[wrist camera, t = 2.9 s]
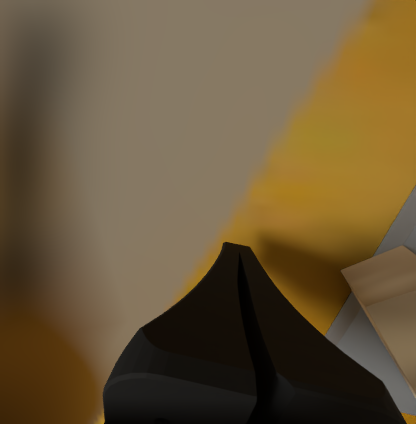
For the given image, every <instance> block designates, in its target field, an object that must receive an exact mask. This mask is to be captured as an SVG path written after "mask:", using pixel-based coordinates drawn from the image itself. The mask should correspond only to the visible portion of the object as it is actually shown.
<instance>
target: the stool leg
mask: <svg viewBox="0 0 416 424" xmlns="http://www.w3.org/2000/svg"><path fill="white" fill-rule="evenodd" d="M340 271H341V272H342V274H343V276H344V278H345V279H346V281H347V283H348V284H349V286H350V288H351V289H352V291H353V293H354V295H355V296H356V298H357V300H358V301H359V303H360V305H361V307H362V308H363V310H364V312H365V313H366V315H367V317H368V318H369V320H370V322H371V324H372V325H373V327H374V329H375V330H376V332H377V334H378V335H379V337H380V339H381V341H382V342H383V344H384V346H385V347H386V349H387V351H388V352H389V354H390V356H391V358H392V359H393V361H394V363H395V364H396V366H397V368H398V369H399V371H400V373H401V375H402V376H403V378H404V380H405V381H406V383H407V385H408V386H409V388H410V390H411V392H412V393H413V395H414V397H415V398H416V255H415V254H414V253H413V252H411V251H410V250H409V249H407V248H406V247H405V246H403V245H402V246H399V247H397V248H394V249H392V250H389V251H387V252H384V253H382V254H379V255H377V256H374V257H372V258H369V259H367V260H364V261H362V262H359V263H357V264H354V265H352V266H349V267H347V268H344V269H342V270H340Z"/></svg>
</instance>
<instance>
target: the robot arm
mask: <svg viewBox="0 0 416 424" xmlns="http://www.w3.org/2000/svg"><path fill="white" fill-rule="evenodd" d="M103 404H104V417H105V423H104V424H407V423H406V421H405V420H404V418H403V416H402V414H401V413H400V411H399V409H398V407H397V405H396V404H395V402H394V400H393V398H392V397H391V395H390V393H389V391H388V389H387V388H386V386H385V385H384V383H383V381H382V380H380V379H379V378H377V377H376V376H375V375H373V374H372V373H371V372H369V371H368V370H367V369H365V368H364V367H363V366H361V365H360V364H359V363H357V362H356V361H355V360H353V359H352V358H351V357H349V356H348V355H347V354H345V353H344V352H343V351H342V350H340V349H339V348H338V347H337V346H336V345H334V344H333V343H332V342H331V341H329V340H328V339H327V338H326V337H325V336H324V335H322V334H321V333H320V332H319V331H318V330H317V329H316V328H315V327H314V326H313V325H311V324H310V323H309V322H308V321H307V320H306V319H305V318H304V317H303V316H302V315H301V314H300V313H299V312H298V311H297V310H296V309H295V308H294V307H293V306H292V304H291V303H290V302H289V301H288V300H287V299H286V298H285V297H284V296H283V294H282V293H281V292H280V291H279V290H278V288H277V287H276V286H275V284H274V283H273V282H272V280H271V279H270V278H269V276H268V275H267V273H266V272H265V270H264V269H263V267H262V266H261V264H260V263H259V261H258V259H257V258H256V256H255V254H254V253H253V251H252V250H251V248H250V247H248V246H243V245H238V244H233V243H229V242H225V243H223V246H222V250H221V252H220V254H219V256H218V258H217V260H216V261H215V263H214V264H213V266H212V267H211V269H210V270H209V271H208V273H207V274H206V275H205V276H204V278H203V279H202V280H201V281H200V282H199V283H198V284H197V285H196V286H195V287H194V288H193V289H192V290H191V291H190V292H189V293H188V294H187V295H186V296H185V297H184V298H182V299H181V300H180V301H179V302H178V303H176V304H175V305H174V306H172V307H171V308H170V309H168V310H167V311H166V312H164V313H163V314H162V315H160V316H158V317H157V318H155V319H154V320H152V321H151V322H149V323H147V324H146V325H144V326H143V327H141V328H140V329H139V330H138V331H137V333H136V334H135V335H134V337H133V338H132V339H131V341H130V342H129V343H128V345H127V346H126V348H125V349H124V351H123V352H122V354H121V356H120V357H119V359H118V361H117V362H116V364H115V366H114V368H113V370H112V372H111V375H110V376H109V378H108V380H107V383H106V385H105V387H104V391H103Z"/></svg>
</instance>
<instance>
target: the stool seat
mask: <svg viewBox="0 0 416 424" xmlns="http://www.w3.org/2000/svg"><path fill="white" fill-rule="evenodd" d="M402 245H403V246H405V247H406V248H407V249H409V250H410V251H411V252H413V253H414V254H415V255H416V186H415V188H414V189H413V191H412V193H411V194H410V196H409V198H408V199H407V201H406V202H405V204H404V206H403V207H402V209H401V211H400V212H399V214H398V216H397V217H396V219H395V221H394V222H393V224H392V226H391V227H390V229H389V231H388V232H387V234H386V236H385V237H384V239H383V241H382V242H381V244H380V246H379V247H378V249H377V251H376V252H375V254H374V255H373V257H374V256H377V255H379V254H382V253H384V252H387V251H389V250H392V249H394V248H397V247H399V246H402ZM325 337H326V338H327V339H328V340H329V341H331V342H332V343H333V344H334V345H336V346H337V347H338V348H339V349H340V350H342V351H343V352H344V353H345V354H347V355H348V356H349V357H351V358H352V359H353V360H355V361H356V362H357V363H359V364H360V365H361V366H363V367H364V368H365V369H367V370H368V371H369V372H371V373H372V374H373V375H375V376H376V377H377V378H379V379H380V380H382V381H383V383H384V385H385V386H386V388H387V389H388V391H389V393H390V395H391V397H392V398H393V400H394V402H395V404H396V405H397V407H398V409H399V411H400V412H402V413H407V414H411V415H415V416H416V398H415V397H414V395H413V393H412V392H411V390H410V388H409V386H408V385H407V383H406V381H405V380H404V378H403V376H402V375H401V373H400V371H399V369H398V368H397V366H396V364H395V363H394V361H393V359H392V358H391V356H390V354H389V352H388V351H387V349H386V347H385V346H384V344H383V342H382V341H381V339H380V337H379V335H378V334H377V332H376V330H375V329H374V327H373V325H372V324H371V322H370V320H369V318H368V317H367V315H366V313H365V312H364V310H363V308H362V307H361V305H360V303H359V301H358V300H357V298H356V296H355V295H354V293H353V291H352V292H351V294H350V295H349V297H348V299H347V300H346V302H345V304H344V305H343V307H342V308H341V310H340V312H339V313H338V315H337V317H336V318H335V320H334V322H333V323H332V325H331V327H330V328H329V330H328V332H327V333H326V335H325Z"/></svg>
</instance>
